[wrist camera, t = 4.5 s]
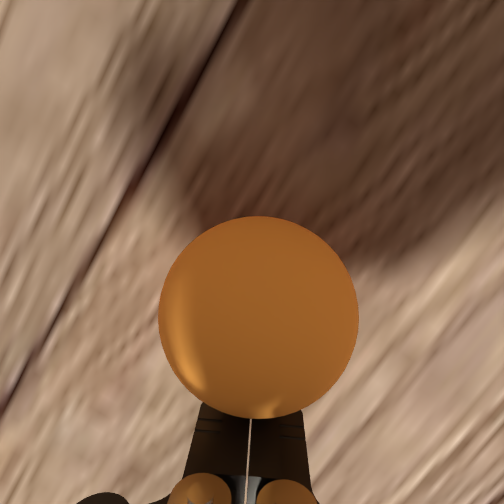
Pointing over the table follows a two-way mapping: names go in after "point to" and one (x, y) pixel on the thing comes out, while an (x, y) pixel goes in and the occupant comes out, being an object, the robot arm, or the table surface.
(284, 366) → the ball
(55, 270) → the table surface
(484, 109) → the table surface
